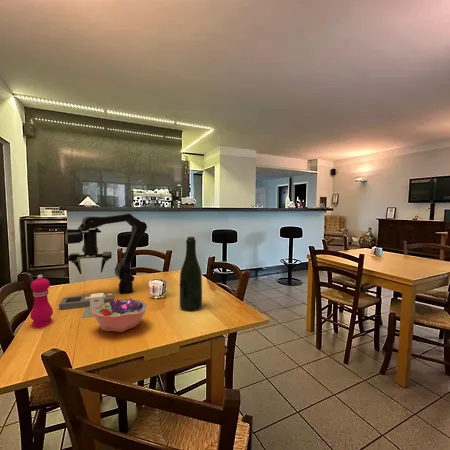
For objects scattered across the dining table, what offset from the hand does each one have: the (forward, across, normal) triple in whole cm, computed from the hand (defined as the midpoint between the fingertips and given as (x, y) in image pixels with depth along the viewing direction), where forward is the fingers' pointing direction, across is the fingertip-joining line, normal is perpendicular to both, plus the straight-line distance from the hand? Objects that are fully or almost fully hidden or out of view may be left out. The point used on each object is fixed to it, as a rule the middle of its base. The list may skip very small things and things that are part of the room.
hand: (91, 273), depth 129 cm
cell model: (+13, -14, +37) cm, 42 cm away
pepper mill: (+13, +15, +24) cm, 31 cm away
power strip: (+14, +1, +7) cm, 15 cm away
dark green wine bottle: (+13, -44, +26) cm, 53 cm away
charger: (+12, -4, +18) cm, 22 cm away
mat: (+13, -4, +18) cm, 23 cm away
